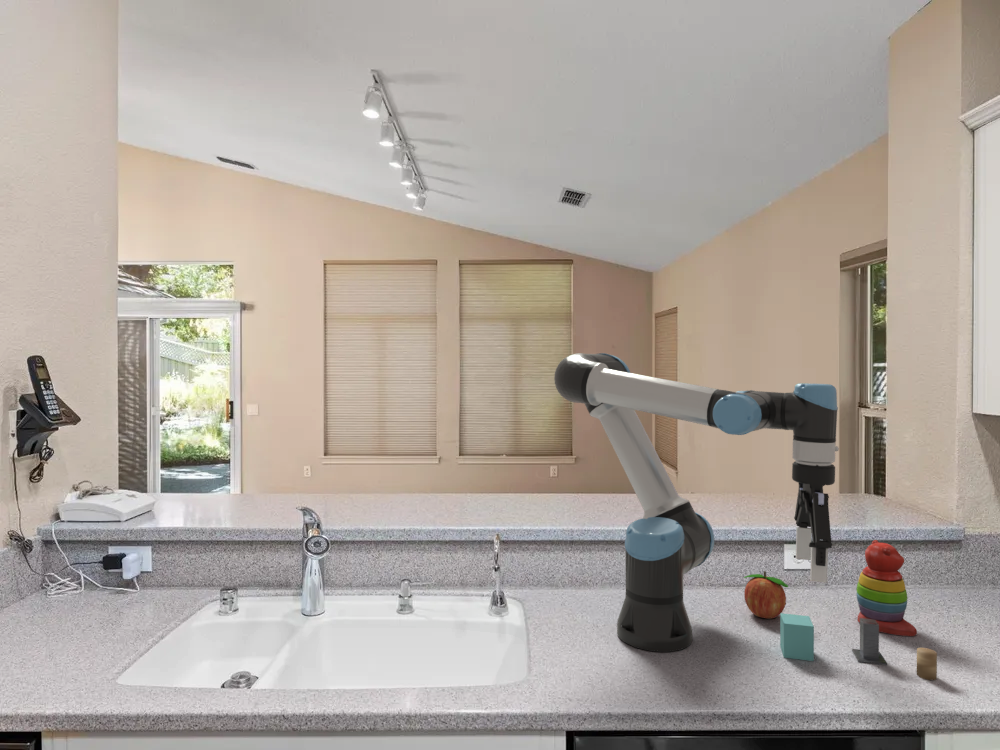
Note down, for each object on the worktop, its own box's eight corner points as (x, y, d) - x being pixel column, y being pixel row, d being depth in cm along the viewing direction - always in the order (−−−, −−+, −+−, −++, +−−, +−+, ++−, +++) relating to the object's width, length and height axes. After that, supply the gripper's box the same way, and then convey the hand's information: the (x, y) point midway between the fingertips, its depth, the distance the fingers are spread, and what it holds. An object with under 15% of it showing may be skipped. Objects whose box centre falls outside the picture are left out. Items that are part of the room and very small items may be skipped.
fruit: (775, 627, 134) (775, 581, 134) (734, 614, 141) (734, 570, 141) (794, 617, 139) (794, 572, 139) (753, 604, 147) (754, 562, 146)
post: (858, 661, 118) (858, 624, 118) (852, 650, 123) (852, 615, 123) (887, 665, 117) (887, 628, 117) (879, 653, 121) (879, 618, 121)
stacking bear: (920, 637, 129) (921, 551, 128) (866, 633, 131) (867, 548, 130) (898, 617, 139) (899, 537, 139) (848, 613, 141) (849, 535, 141)
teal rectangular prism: (783, 657, 120) (784, 623, 120) (780, 645, 125) (780, 613, 125) (813, 661, 118) (813, 626, 118) (808, 649, 123) (808, 616, 123)
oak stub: (920, 678, 112) (920, 653, 112) (914, 671, 115) (914, 646, 115) (939, 681, 111) (939, 656, 111) (933, 673, 114) (933, 648, 114)
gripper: (853, 474, 109) (849, 594, 110) (819, 454, 133) (816, 552, 134) (806, 472, 111) (803, 590, 112) (781, 452, 135) (778, 549, 136)
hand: (810, 569), depth 123 cm, fingers open, 13 cm apart
